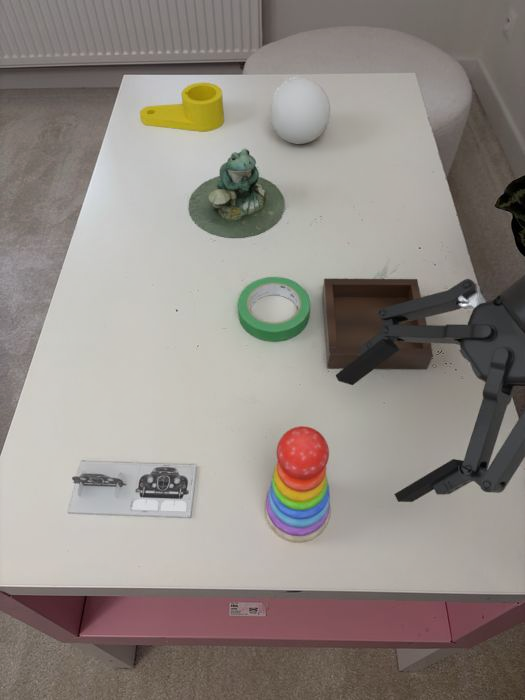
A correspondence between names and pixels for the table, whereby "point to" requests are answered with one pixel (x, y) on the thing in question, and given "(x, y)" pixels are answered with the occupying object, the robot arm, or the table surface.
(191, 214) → the frog figurine
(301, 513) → the stacking toy
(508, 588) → the table surface
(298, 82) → the decorative ball
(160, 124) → the crank
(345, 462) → the table surface
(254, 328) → the tape roll
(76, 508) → the car cutout
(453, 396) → the table surface
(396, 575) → the table surface
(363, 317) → the square tray
